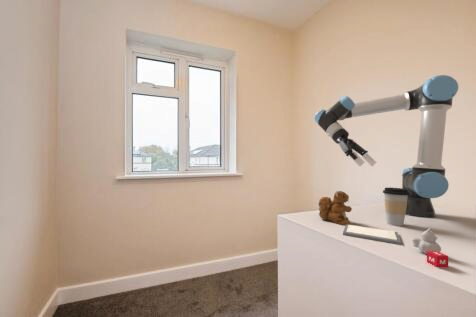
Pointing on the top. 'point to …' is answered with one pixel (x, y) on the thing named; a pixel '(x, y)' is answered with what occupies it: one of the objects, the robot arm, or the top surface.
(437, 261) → the dice
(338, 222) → the stuffed squirrel
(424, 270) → the top surface
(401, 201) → the coffee cup
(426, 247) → the light grey lumpy piece
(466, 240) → the top surface
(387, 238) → the picture frame
